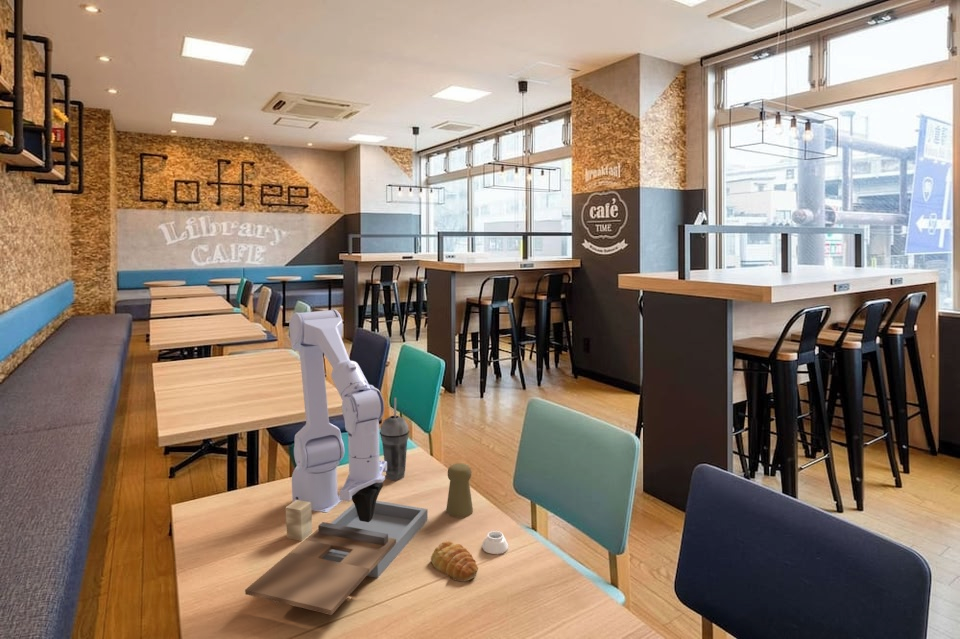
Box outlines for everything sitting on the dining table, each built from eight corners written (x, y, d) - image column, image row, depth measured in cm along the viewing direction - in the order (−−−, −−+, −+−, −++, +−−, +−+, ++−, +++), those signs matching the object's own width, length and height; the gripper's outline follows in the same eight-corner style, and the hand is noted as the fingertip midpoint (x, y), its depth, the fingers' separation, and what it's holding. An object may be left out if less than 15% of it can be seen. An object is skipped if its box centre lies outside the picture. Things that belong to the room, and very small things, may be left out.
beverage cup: (376, 481, 146) (374, 402, 143) (386, 469, 153) (384, 394, 150) (405, 483, 145) (403, 404, 142) (413, 471, 152) (412, 395, 149)
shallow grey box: (300, 564, 110) (300, 549, 110) (360, 510, 131) (360, 497, 130) (377, 580, 105) (377, 564, 105) (427, 522, 126) (427, 509, 125)
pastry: (487, 574, 108) (487, 555, 107) (458, 589, 103) (458, 569, 102) (454, 553, 114) (454, 534, 114) (426, 566, 110) (426, 547, 109)
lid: (245, 594, 96) (244, 581, 96) (322, 529, 116) (321, 518, 116) (331, 614, 91) (331, 601, 91) (396, 543, 111) (395, 531, 111)
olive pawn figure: (474, 507, 133) (474, 460, 131) (471, 520, 127) (471, 471, 125) (448, 506, 133) (447, 459, 131) (443, 519, 127) (443, 470, 125)
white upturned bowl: (477, 547, 116) (493, 558, 112) (477, 533, 116) (493, 544, 112) (497, 539, 119) (513, 550, 115) (497, 525, 119) (513, 536, 115)
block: (287, 540, 118) (285, 507, 117) (297, 531, 122) (296, 499, 121) (302, 543, 117) (300, 510, 116) (312, 534, 121) (311, 502, 120)
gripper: (363, 470, 104) (365, 542, 106) (400, 442, 118) (401, 506, 120) (328, 465, 107) (331, 535, 109) (368, 438, 120) (370, 501, 122)
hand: (365, 519), depth 115 cm, fingers closed
